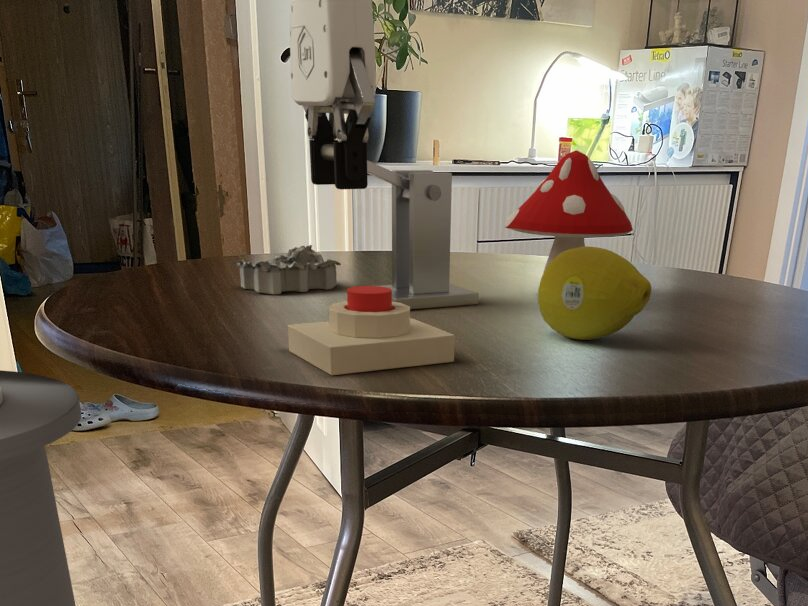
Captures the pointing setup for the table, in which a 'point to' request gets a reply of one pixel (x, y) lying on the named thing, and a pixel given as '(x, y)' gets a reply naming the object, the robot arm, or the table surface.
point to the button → (369, 299)
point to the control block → (369, 341)
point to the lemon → (591, 293)
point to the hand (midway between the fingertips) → (338, 184)
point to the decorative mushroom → (571, 207)
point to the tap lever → (374, 171)
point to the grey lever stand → (424, 243)
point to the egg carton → (289, 272)
